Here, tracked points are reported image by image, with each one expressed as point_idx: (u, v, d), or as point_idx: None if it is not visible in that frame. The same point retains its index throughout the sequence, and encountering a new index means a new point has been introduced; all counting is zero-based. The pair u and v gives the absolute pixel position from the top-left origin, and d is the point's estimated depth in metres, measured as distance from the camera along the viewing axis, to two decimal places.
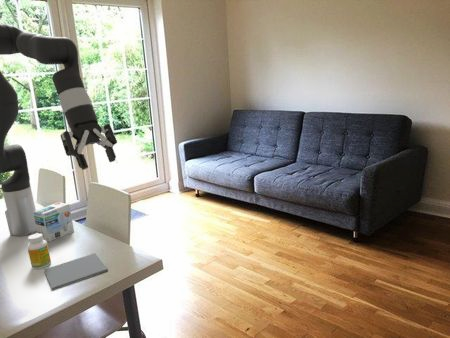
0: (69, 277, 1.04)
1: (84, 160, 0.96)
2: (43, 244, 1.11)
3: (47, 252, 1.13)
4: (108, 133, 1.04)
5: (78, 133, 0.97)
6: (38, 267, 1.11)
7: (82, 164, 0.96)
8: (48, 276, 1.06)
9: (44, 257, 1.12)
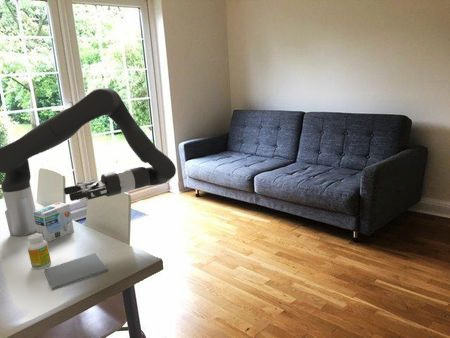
0: (69, 277, 1.04)
1: (77, 199, 1.13)
2: (43, 244, 1.11)
3: (47, 252, 1.13)
4: None
5: None
6: (38, 267, 1.11)
7: None
8: (48, 276, 1.06)
9: (44, 257, 1.12)
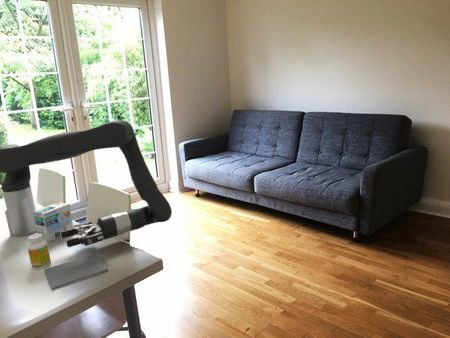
0: (69, 277, 1.04)
1: None
2: (43, 244, 1.11)
3: (47, 252, 1.13)
4: None
5: None
6: (38, 267, 1.11)
7: None
8: (48, 276, 1.06)
9: (44, 257, 1.12)
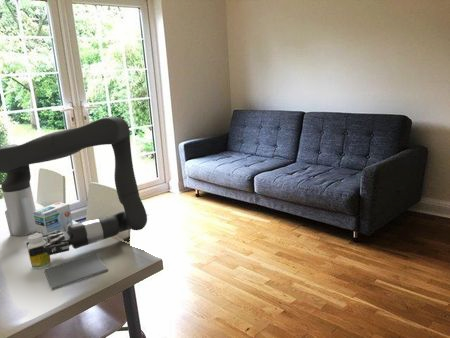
0: (69, 277, 1.04)
1: None
2: (43, 244, 1.11)
3: None
4: None
5: None
6: (38, 267, 1.11)
7: None
8: (48, 276, 1.06)
9: (44, 257, 1.12)
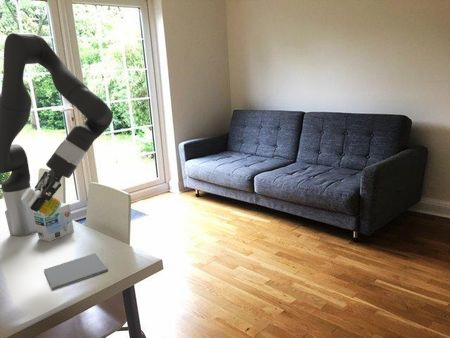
0: (69, 277, 1.04)
1: None
2: (37, 195, 1.06)
3: None
4: None
5: None
6: (53, 213, 1.09)
7: (38, 208, 1.05)
8: (48, 276, 1.06)
9: (50, 203, 1.08)
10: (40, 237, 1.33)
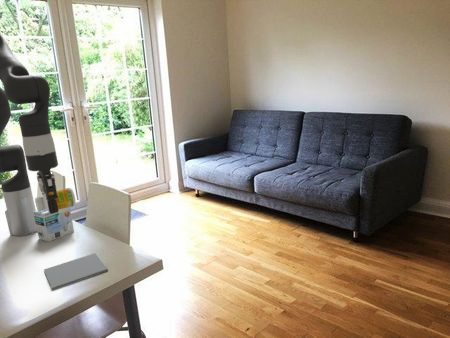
0: (69, 277, 1.04)
1: None
2: None
3: (57, 193, 1.04)
4: None
5: (51, 177, 1.01)
6: (73, 202, 1.05)
7: (56, 208, 1.02)
8: (48, 276, 1.06)
9: (62, 197, 1.04)
10: (40, 237, 1.33)
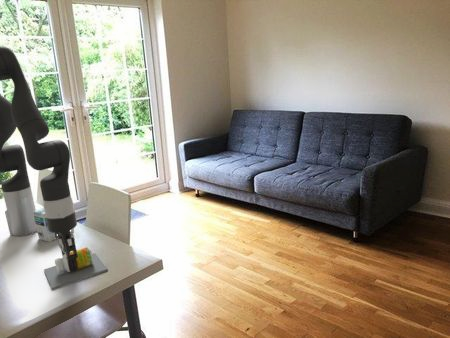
0: (69, 277, 1.04)
1: (76, 262, 1.04)
2: (66, 262, 1.05)
3: None
4: None
5: (71, 237, 1.03)
6: (92, 262, 1.09)
7: None
8: (48, 276, 1.06)
9: (81, 259, 1.07)
10: (40, 237, 1.33)
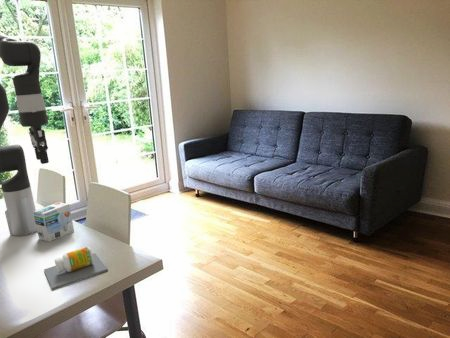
0: (69, 277, 1.04)
1: (47, 156, 1.14)
2: (66, 262, 1.05)
3: (77, 255, 1.07)
4: None
5: None
6: (91, 262, 1.09)
7: (47, 159, 1.14)
8: (48, 276, 1.06)
9: (81, 258, 1.07)
10: (40, 237, 1.33)
